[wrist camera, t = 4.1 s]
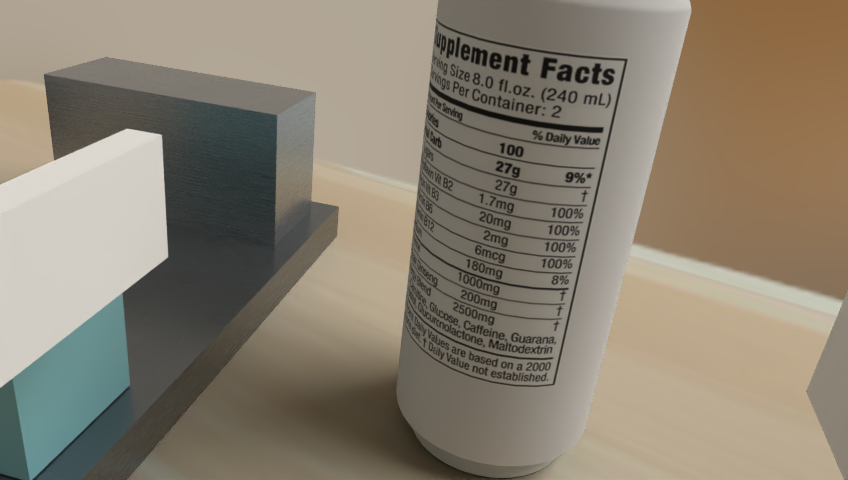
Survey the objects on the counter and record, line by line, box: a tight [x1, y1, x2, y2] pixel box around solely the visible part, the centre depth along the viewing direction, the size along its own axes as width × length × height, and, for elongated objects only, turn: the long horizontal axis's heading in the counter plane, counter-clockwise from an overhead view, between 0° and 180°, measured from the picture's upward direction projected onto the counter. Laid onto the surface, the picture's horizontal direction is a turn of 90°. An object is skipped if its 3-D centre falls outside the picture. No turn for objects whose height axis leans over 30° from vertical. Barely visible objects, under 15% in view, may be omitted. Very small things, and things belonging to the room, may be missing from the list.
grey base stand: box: [0, 57, 339, 480], centre depth 24 cm, size 12×22×7 cm, turn 166°
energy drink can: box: [396, 0, 691, 478], centre depth 20 cm, size 6×6×15 cm
